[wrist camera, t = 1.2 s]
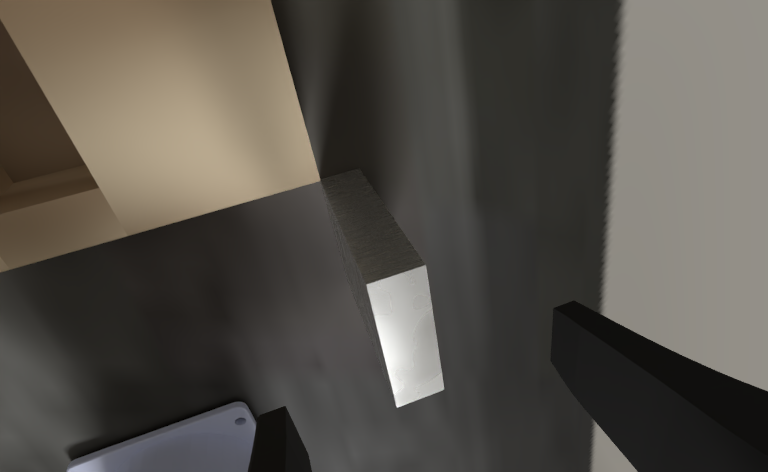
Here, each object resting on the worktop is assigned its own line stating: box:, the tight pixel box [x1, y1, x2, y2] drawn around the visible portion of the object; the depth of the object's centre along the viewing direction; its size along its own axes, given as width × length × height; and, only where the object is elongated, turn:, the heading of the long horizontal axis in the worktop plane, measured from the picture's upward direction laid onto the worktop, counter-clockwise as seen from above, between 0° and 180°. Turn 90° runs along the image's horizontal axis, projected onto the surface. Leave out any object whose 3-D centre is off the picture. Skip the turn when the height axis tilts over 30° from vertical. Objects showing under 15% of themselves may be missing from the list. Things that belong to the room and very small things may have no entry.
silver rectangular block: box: [320, 168, 444, 407], centre depth 15 cm, size 5×2×7 cm, turn 9°
